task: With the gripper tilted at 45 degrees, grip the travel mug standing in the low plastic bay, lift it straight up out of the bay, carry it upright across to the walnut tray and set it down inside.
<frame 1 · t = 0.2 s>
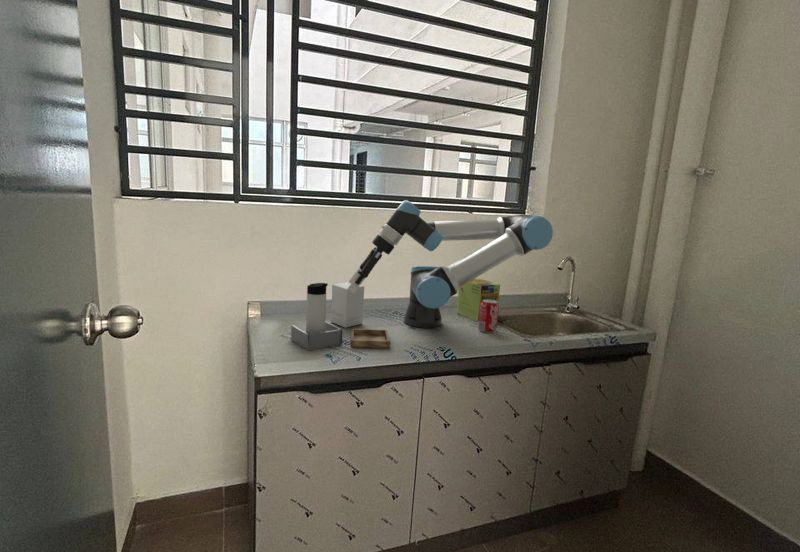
hand: (350, 287, 158), 16 cm above the counter, tool tilted 35°, fingers open, 13 cm apart
soda can: (487, 331, 172), on the counter
travel mug: (315, 342, 148), on the counter
bay: (315, 341, 148), on the counter
protein box: (476, 316, 192), on the counter
supplement box: (346, 323, 170), on the counter, touching gripper
tray: (369, 341, 151), on the counter
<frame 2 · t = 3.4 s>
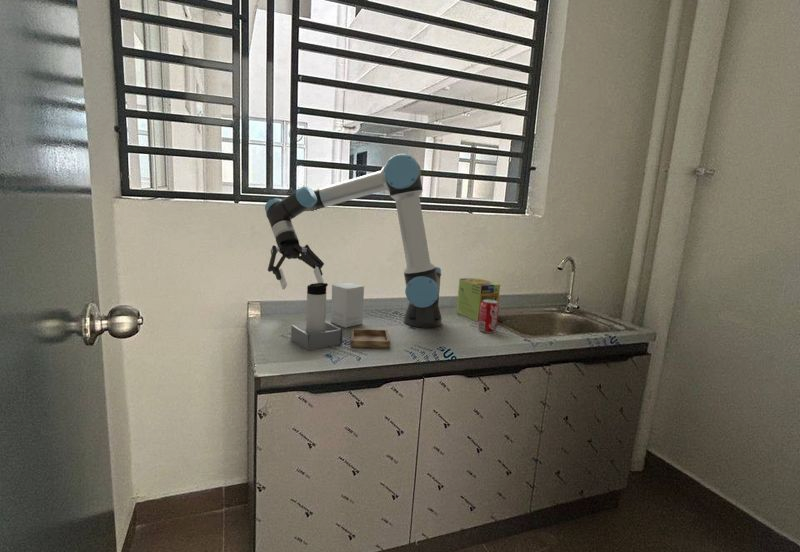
hand: (303, 285, 151), 17 cm above the counter, tool tilted 45°, fingers open, 13 cm apart
supplement box: (346, 323, 170), on the counter
everything else where it was.
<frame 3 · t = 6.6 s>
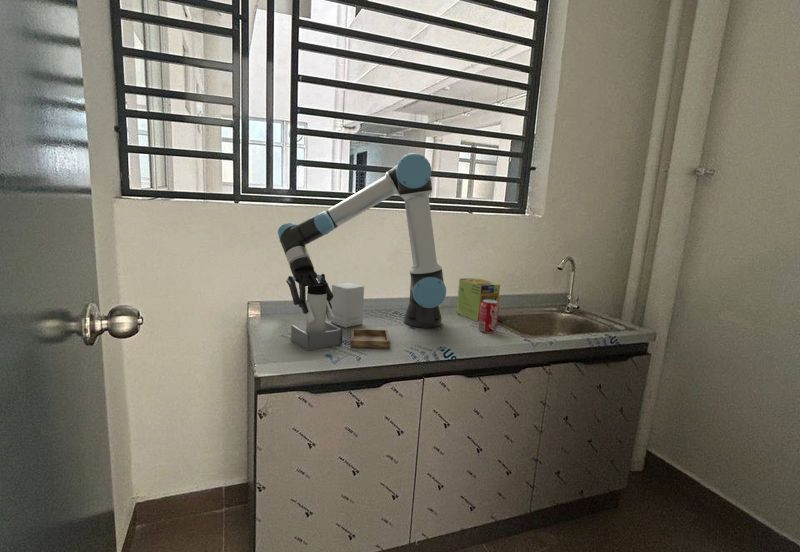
hand: (321, 319, 143), 8 cm above the counter, tool tilted 45°, fingers closed on travel mug, 6 cm apart
travel mug: (315, 342, 148), on the counter, touching gripper
everything else where it was.
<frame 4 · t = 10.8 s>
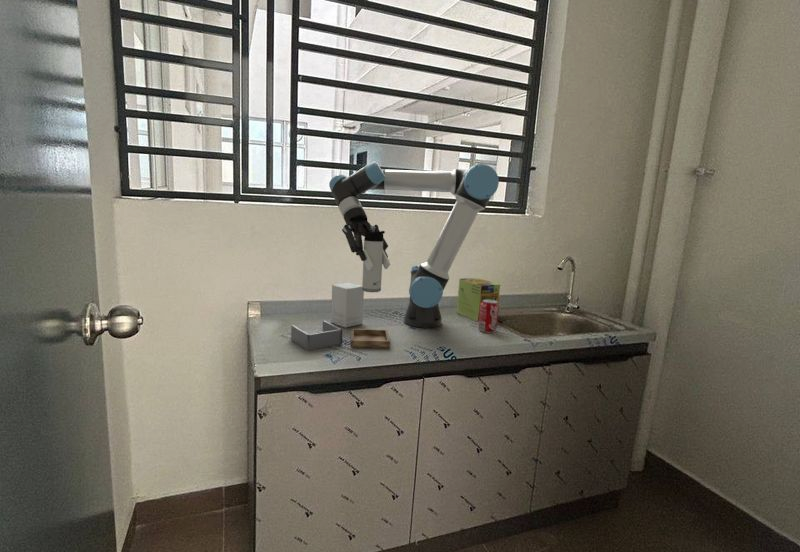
hand: (379, 267, 143), 26 cm above the counter, tool tilted 45°, fingers closed on travel mug, 6 cm apart
travel mug: (371, 291, 148), point 18 cm above the counter, touching gripper
everything else where it was.
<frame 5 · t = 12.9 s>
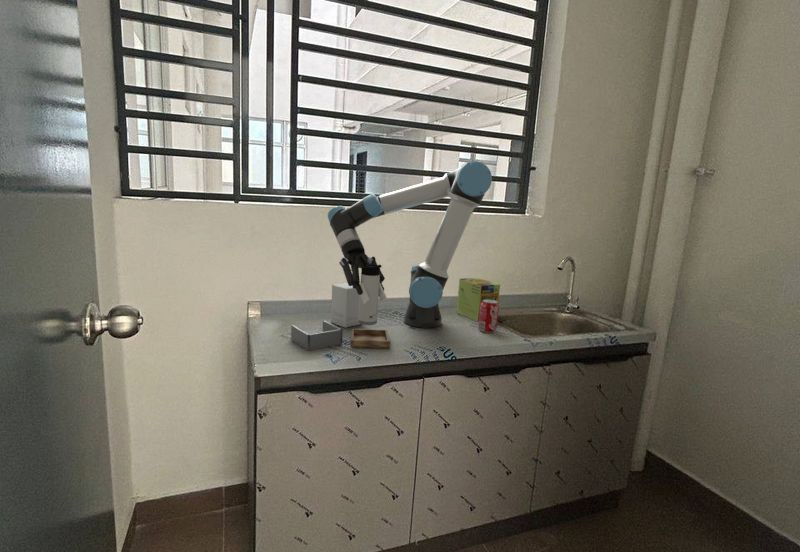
hand: (375, 300, 145), 15 cm above the counter, tool tilted 45°, fingers closed on travel mug, 6 cm apart
travel mug: (368, 323, 150), point 6 cm above the counter, touching gripper
everything else where it was.
when the fingers open (11 cm above the counter, at t = 14.6 s): travel mug drops 2 cm, resting on tray.
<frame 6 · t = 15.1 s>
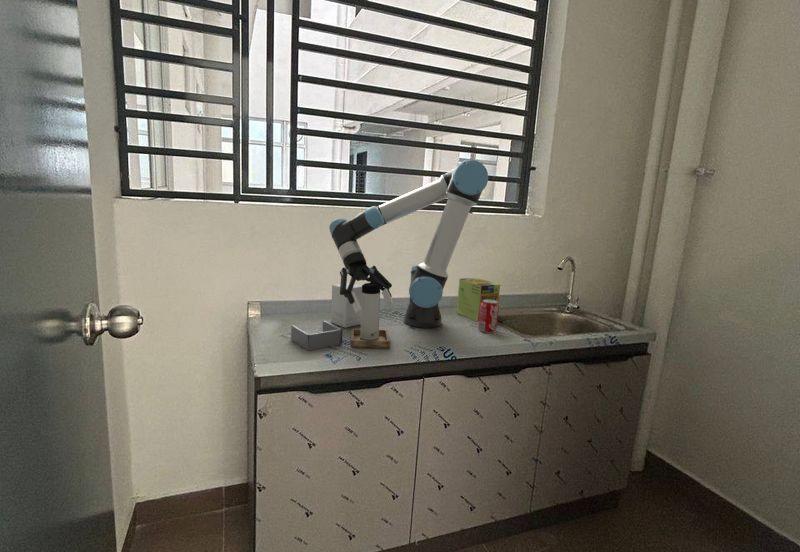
hand: (375, 308, 147), 12 cm above the counter, tool tilted 45°, fingers open, 13 cm apart
travel mug: (369, 340, 151), resting on tray
everything else where it was.
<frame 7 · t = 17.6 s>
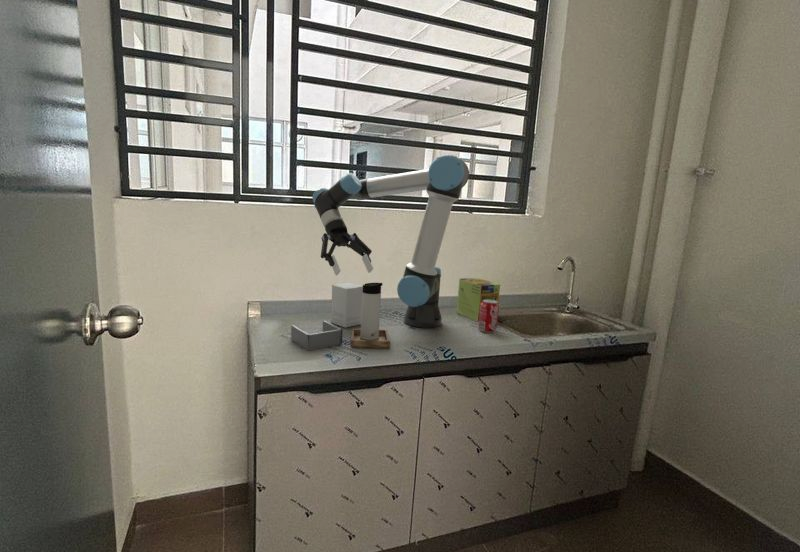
hand: (355, 271, 155), 22 cm above the counter, tool tilted 45°, fingers open, 13 cm apart
nothing on the counter moved.
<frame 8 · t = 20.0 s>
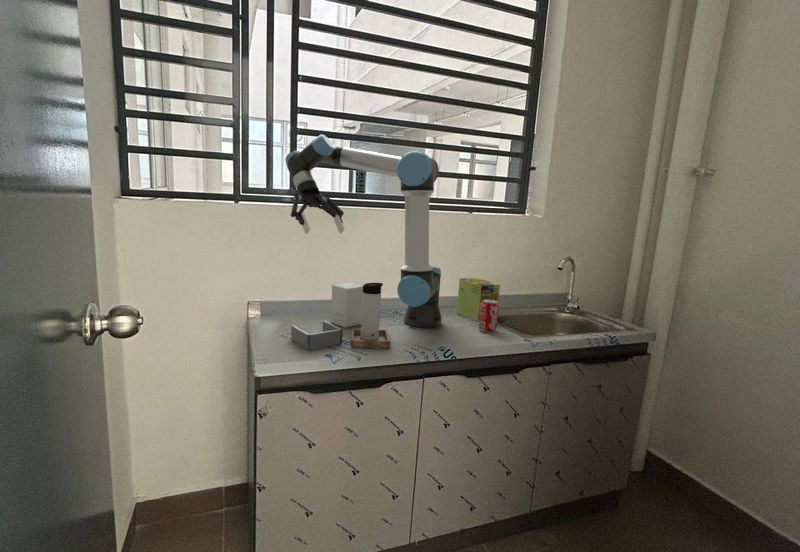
hand: (325, 231, 155), 36 cm above the counter, tool tilted 45°, fingers open, 13 cm apart
nothing on the counter moved.
at the end: travel mug 0.0 cm off-centre on the tray, point 0.4 cm above the tray's base; travel mug tilted 0°; the gripper is holding nothing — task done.
